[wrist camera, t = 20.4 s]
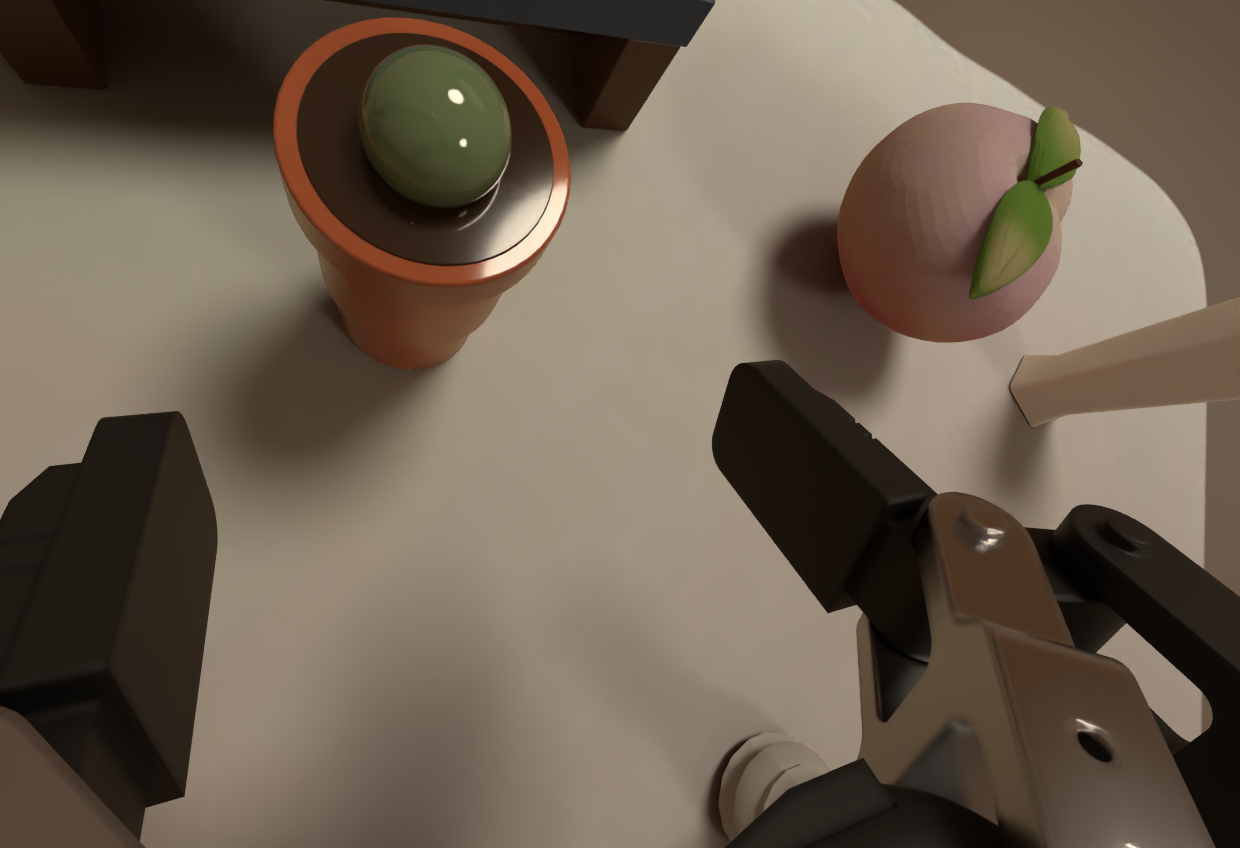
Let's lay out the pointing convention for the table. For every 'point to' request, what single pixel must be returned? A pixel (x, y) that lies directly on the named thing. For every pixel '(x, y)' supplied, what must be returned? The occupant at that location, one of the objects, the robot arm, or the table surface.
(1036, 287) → the decorative fruit
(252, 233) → the table surface
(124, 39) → the table surface
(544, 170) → the pot
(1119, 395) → the perfume bottle
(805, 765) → the rook chess piece
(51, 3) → the dark blue bench
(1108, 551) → the robot arm
